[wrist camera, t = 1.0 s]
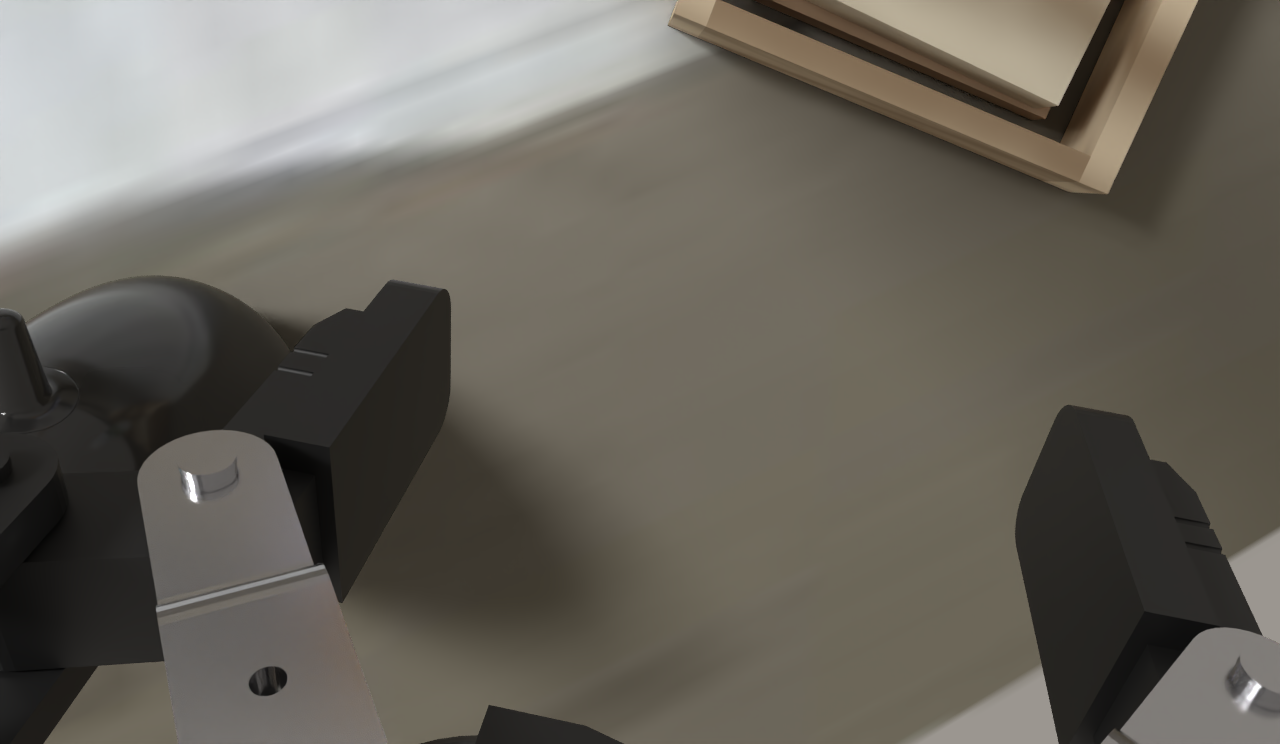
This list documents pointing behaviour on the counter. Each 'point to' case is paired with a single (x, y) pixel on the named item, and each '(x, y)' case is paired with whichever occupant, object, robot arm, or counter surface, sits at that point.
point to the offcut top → (989, 38)
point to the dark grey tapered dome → (131, 369)
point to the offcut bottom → (898, 53)
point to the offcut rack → (1073, 165)
